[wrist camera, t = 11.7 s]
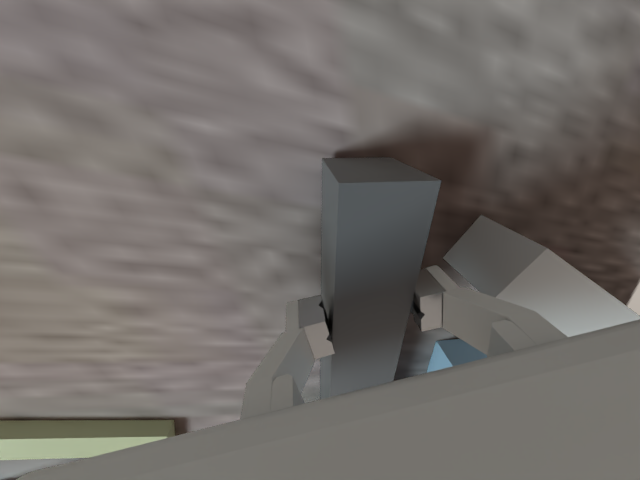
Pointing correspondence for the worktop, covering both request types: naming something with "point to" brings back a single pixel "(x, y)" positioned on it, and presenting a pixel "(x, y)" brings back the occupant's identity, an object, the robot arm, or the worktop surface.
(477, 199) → the worktop surface
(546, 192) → the worktop surface
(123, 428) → the pale green stick
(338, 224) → the hook tool
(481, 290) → the grey stick
